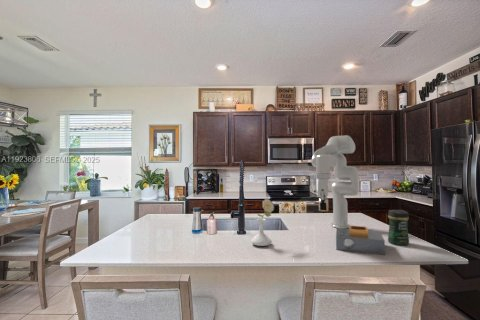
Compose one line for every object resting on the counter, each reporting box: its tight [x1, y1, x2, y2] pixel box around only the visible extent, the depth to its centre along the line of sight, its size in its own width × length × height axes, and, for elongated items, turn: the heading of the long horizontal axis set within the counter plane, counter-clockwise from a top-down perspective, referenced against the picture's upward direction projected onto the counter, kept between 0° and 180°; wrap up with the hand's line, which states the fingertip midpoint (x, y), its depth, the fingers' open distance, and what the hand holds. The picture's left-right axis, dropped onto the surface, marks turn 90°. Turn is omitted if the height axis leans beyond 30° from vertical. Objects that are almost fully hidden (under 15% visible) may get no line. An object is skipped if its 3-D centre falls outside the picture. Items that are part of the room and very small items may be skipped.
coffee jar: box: [387, 209, 410, 246], centre depth 141 cm, size 10×8×19 cm
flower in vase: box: [250, 198, 275, 247], centre depth 141 cm, size 13×11×25 cm
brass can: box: [318, 196, 329, 213], centre depth 143 cm, size 5×5×8 cm
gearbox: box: [335, 224, 386, 256], centre depth 136 cm, size 19×22×10 cm
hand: (323, 208), depth 143 cm, fingers closed on brass can, 5 cm apart
